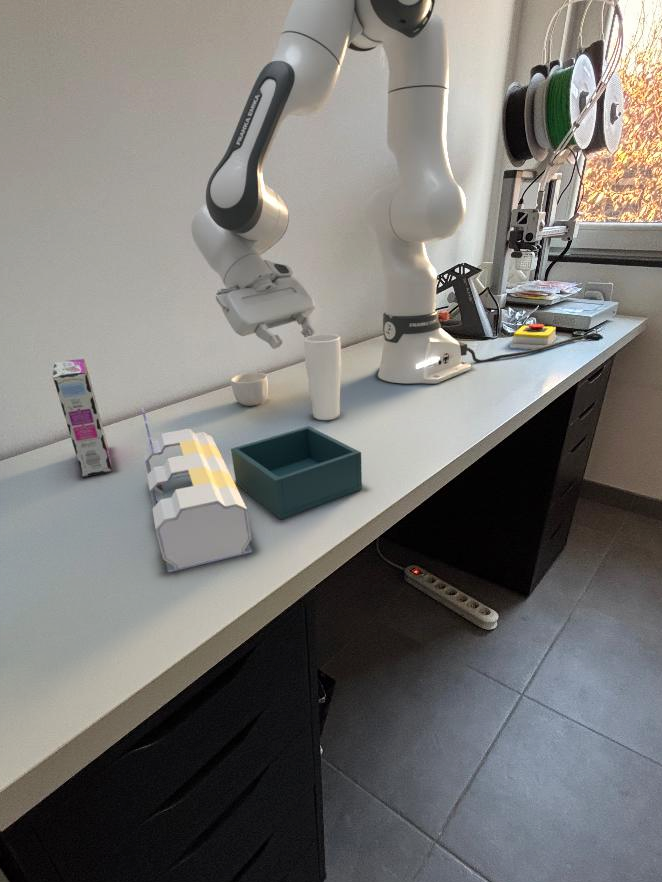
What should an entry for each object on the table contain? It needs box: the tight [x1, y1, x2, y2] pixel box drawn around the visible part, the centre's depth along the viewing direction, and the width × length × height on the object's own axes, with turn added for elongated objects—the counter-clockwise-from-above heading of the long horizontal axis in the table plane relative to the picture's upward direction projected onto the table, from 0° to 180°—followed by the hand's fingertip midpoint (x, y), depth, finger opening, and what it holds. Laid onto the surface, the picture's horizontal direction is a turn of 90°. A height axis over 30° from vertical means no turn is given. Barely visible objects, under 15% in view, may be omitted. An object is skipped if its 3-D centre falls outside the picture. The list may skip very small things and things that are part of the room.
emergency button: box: [509, 323, 557, 350], centre depth 144 cm, size 9×4×15 cm
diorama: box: [141, 407, 253, 574], centre depth 70 cm, size 25×10×13 cm, turn 19°
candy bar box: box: [52, 358, 113, 478], centre depth 86 cm, size 11×5×16 cm, turn 23°
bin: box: [230, 425, 363, 521], centre depth 77 cm, size 14×14×6 cm
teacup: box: [230, 372, 269, 407], centre depth 113 cm, size 10×8×5 cm
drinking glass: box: [303, 333, 342, 421], centre depth 100 cm, size 7×7×15 cm
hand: (295, 340), depth 100 cm, fingers open, 8 cm apart
